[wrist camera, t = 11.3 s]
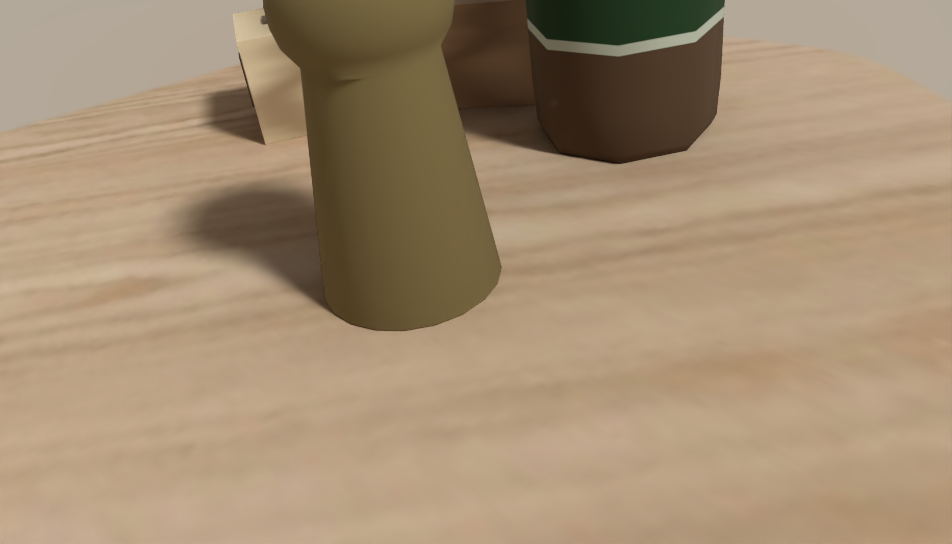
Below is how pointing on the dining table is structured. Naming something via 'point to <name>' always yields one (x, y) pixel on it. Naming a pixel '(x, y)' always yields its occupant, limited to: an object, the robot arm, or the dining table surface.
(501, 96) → the walnut cube marked
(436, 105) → the cork
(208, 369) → the dining table surface
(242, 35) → the beech cube marked
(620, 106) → the beer bottle
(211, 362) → the dining table surface
